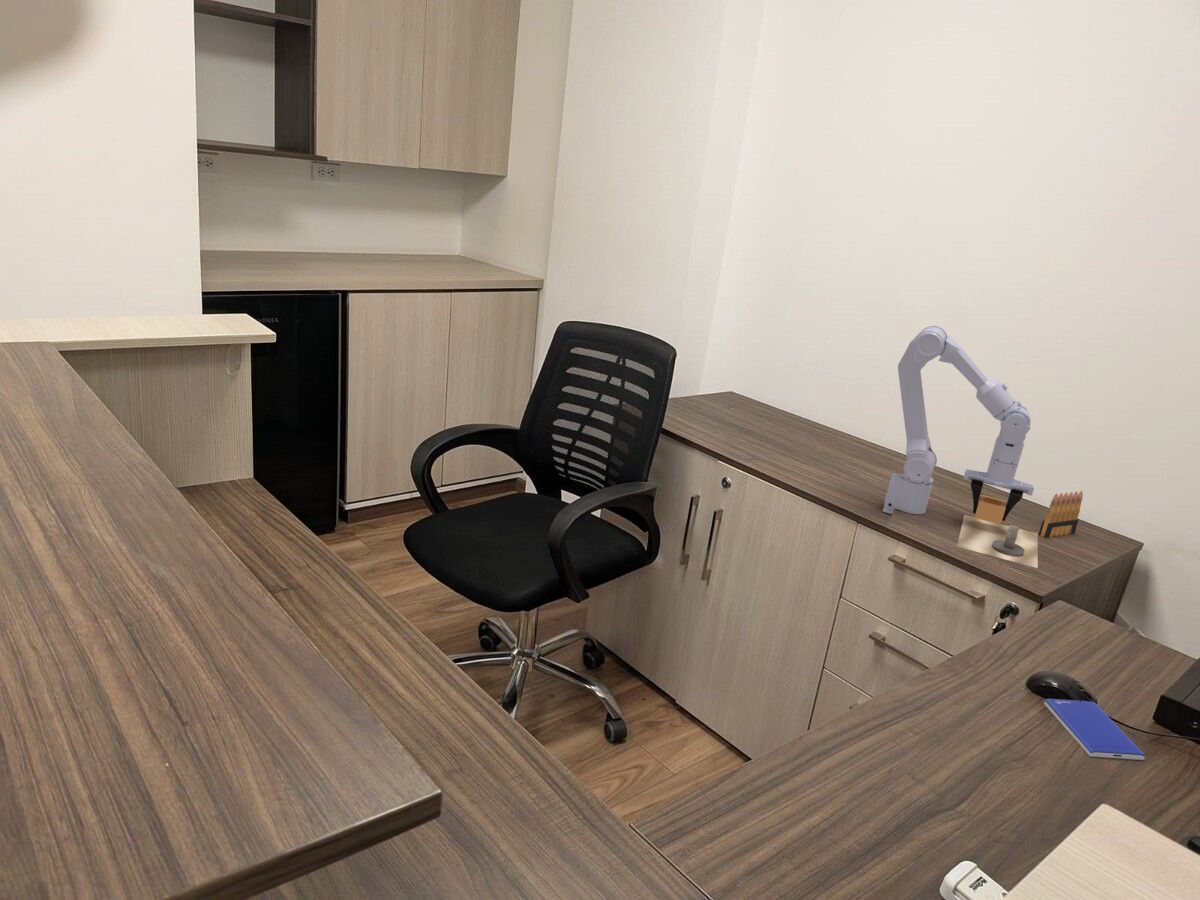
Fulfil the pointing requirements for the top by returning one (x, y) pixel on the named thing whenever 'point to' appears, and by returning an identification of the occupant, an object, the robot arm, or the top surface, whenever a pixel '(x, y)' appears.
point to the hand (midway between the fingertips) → (988, 515)
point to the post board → (999, 541)
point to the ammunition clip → (1062, 515)
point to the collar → (990, 509)
